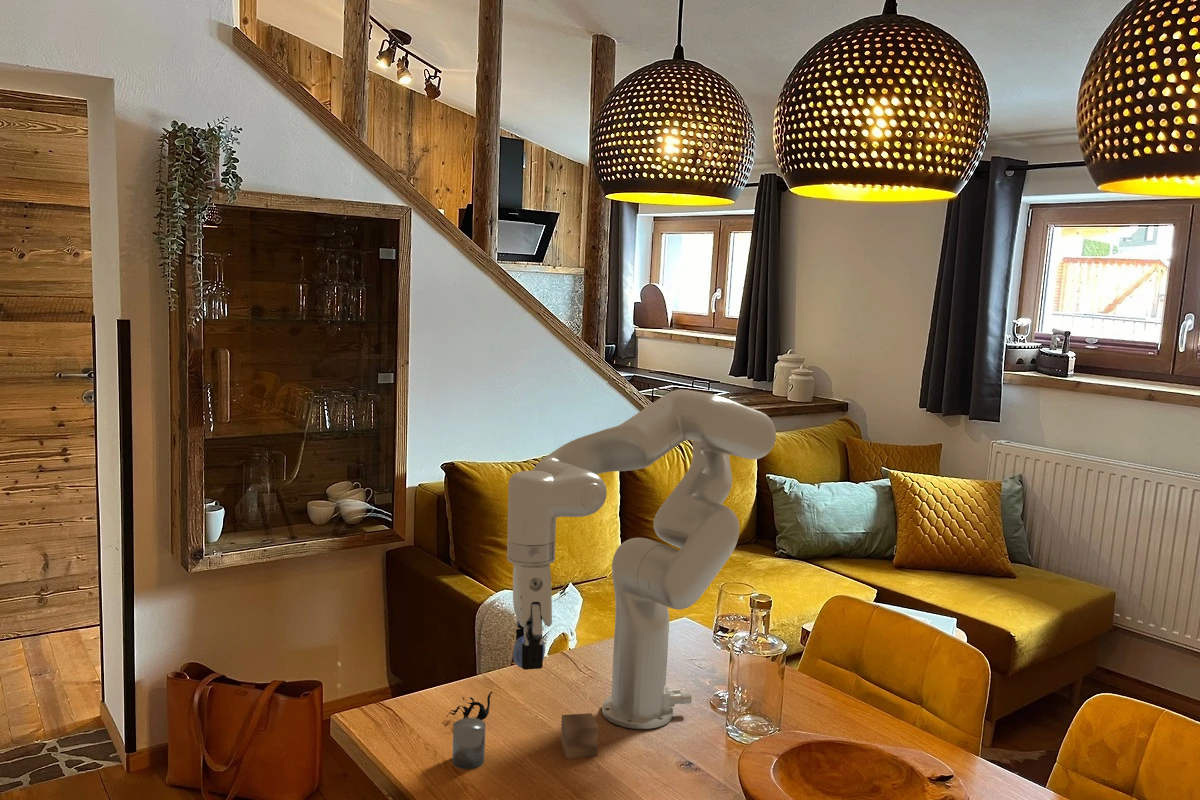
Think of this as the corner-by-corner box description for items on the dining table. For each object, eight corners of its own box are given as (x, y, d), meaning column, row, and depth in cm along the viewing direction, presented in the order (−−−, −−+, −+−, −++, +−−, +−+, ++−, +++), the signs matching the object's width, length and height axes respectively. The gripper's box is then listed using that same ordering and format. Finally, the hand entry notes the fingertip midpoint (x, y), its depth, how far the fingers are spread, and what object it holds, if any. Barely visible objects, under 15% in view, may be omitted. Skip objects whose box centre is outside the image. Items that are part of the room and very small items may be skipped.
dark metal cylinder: (482, 752, 151) (483, 716, 150) (486, 768, 146) (487, 731, 145) (451, 754, 150) (452, 718, 149) (453, 770, 145) (454, 733, 144)
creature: (440, 736, 158) (485, 732, 156) (434, 706, 157) (479, 702, 156) (455, 715, 165) (498, 711, 164) (450, 686, 165) (493, 682, 163)
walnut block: (590, 741, 156) (591, 713, 155) (597, 756, 151) (598, 727, 151) (560, 743, 155) (561, 715, 154) (566, 759, 150) (567, 729, 149)
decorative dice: (521, 657, 152) (522, 633, 152) (544, 660, 151) (545, 637, 150) (512, 667, 148) (513, 642, 148) (536, 670, 147) (536, 646, 147)
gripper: (565, 566, 140) (562, 681, 142) (544, 534, 156) (542, 638, 159) (515, 568, 138) (513, 685, 140) (500, 535, 154) (498, 641, 157)
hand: (528, 659), depth 150 cm, fingers closed on decorative dice, 5 cm apart
